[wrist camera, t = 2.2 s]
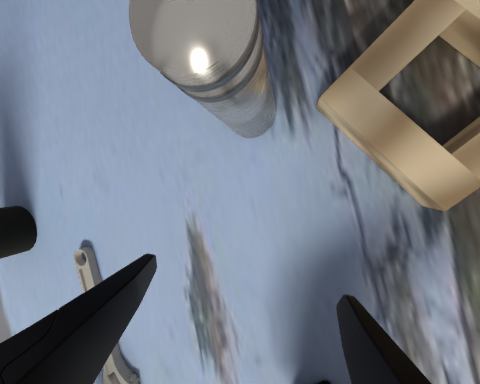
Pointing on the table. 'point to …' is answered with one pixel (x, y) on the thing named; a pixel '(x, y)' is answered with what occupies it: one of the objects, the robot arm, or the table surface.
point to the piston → (210, 56)
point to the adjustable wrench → (115, 370)
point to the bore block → (395, 121)
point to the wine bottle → (16, 231)
